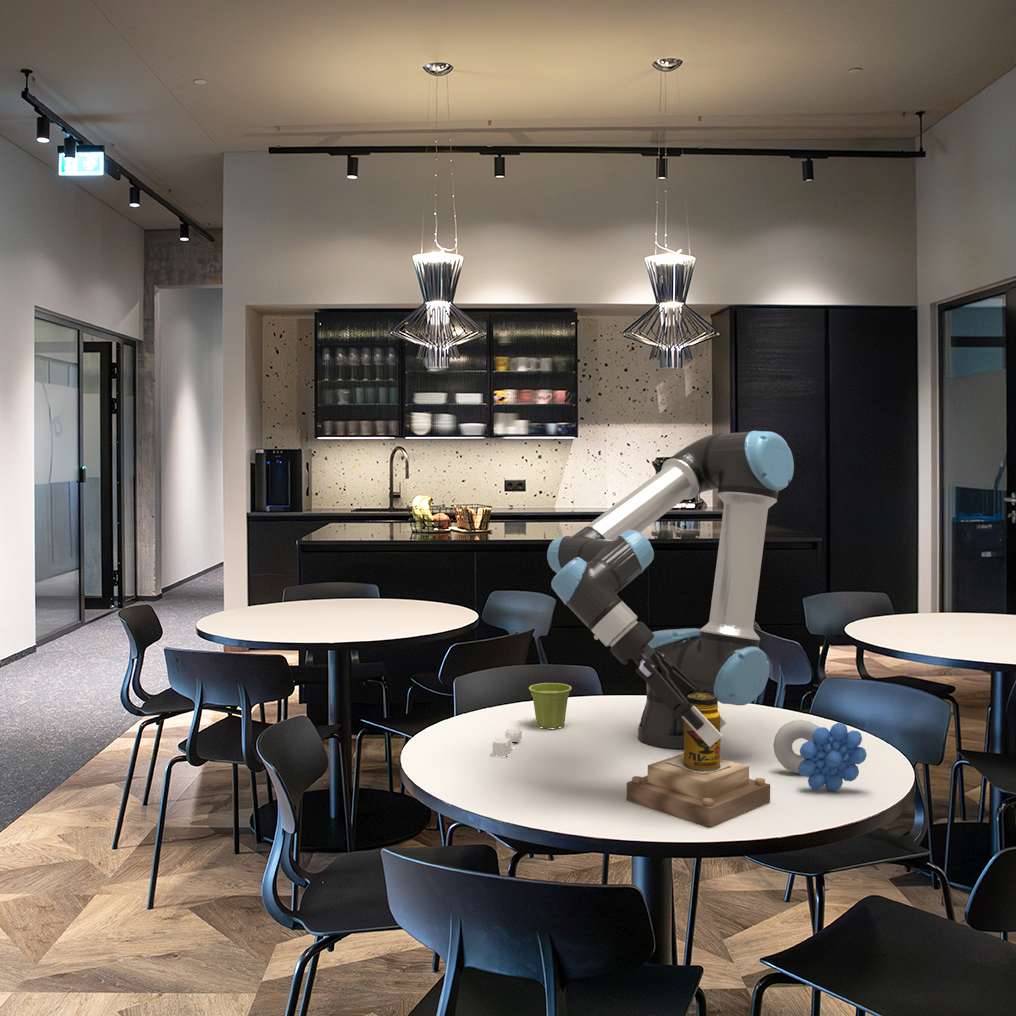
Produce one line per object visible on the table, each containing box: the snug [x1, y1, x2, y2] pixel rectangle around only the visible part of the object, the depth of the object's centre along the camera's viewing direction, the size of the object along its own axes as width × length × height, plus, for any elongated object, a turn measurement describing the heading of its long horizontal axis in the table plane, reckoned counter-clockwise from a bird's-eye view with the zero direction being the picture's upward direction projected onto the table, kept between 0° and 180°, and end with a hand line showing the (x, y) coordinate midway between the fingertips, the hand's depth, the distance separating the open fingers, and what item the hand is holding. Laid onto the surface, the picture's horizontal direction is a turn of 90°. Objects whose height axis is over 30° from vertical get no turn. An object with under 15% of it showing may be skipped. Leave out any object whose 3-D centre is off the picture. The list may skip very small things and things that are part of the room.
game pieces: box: [491, 727, 523, 757], centre depth 186 cm, size 12×3×3 cm, turn 164°
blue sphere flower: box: [798, 722, 868, 792], centre depth 160 cm, size 12×7×12 cm, turn 87°
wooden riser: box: [626, 752, 771, 828], centre depth 155 cm, size 17×17×6 cm
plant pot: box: [528, 682, 572, 729], centre depth 203 cm, size 9×9×9 cm
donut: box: [772, 719, 820, 775], centre depth 169 cm, size 10×4×10 cm, turn 79°
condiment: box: [667, 693, 732, 774], centre depth 155 cm, size 7×8×12 cm
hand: (718, 734), depth 153 cm, fingers open, 8 cm apart
